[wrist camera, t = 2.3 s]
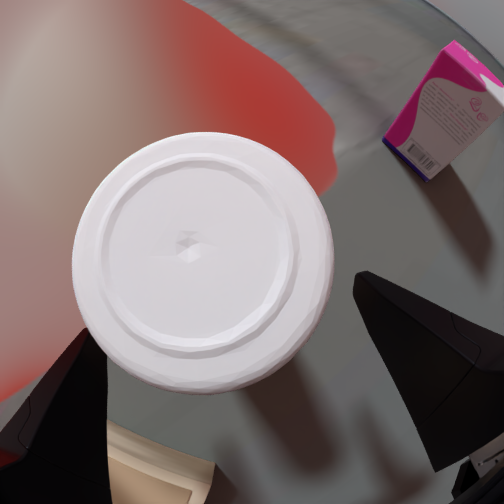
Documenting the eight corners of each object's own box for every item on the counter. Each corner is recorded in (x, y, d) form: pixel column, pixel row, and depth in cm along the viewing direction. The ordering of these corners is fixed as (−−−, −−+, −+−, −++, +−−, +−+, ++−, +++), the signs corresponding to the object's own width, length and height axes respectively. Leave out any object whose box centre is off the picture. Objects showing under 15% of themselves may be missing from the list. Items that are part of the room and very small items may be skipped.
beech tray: (184, 540, 12) (178, 560, 8) (70, 489, 12) (54, 502, 9) (215, 462, 14) (211, 486, 11) (76, 401, 14) (53, 411, 11)
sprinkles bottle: (210, 253, 18) (144, 101, 4) (276, 281, 17) (371, 177, 4) (181, 318, 16) (30, 313, 3) (248, 347, 16) (274, 445, 3)
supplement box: (443, 152, 21) (508, 87, 10) (426, 184, 20) (508, 112, 9) (402, 114, 22) (454, 37, 11) (379, 139, 21) (441, 47, 9)
